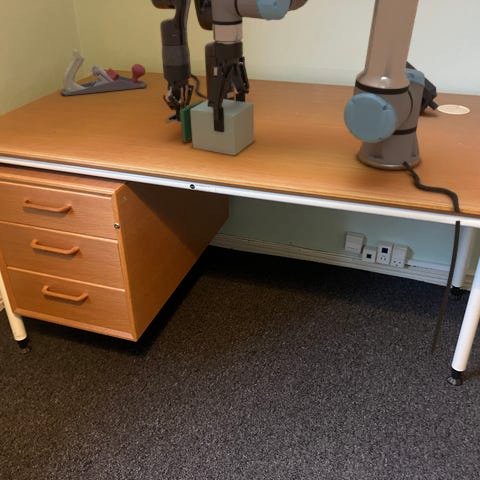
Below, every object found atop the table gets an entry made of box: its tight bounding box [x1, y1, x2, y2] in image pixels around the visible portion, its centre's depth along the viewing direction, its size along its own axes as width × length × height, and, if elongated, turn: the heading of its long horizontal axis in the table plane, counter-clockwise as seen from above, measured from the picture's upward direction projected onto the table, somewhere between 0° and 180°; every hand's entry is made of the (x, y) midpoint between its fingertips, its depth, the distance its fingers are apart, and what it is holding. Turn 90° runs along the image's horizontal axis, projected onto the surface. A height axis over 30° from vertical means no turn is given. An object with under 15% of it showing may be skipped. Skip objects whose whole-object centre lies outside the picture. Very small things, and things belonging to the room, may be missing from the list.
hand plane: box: [61, 48, 146, 96], centre depth 194 cm, size 7×31×15 cm, turn 107°
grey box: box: [190, 99, 255, 156], centre depth 147 cm, size 13×12×11 cm
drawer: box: [164, 99, 204, 143], centre depth 150 cm, size 18×10×9 cm, turn 62°
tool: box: [405, 61, 439, 113], centre depth 169 cm, size 6×19×15 cm, turn 51°
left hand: (181, 122), depth 153 cm, fingers closed
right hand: (230, 123), depth 146 cm, fingers closed on grey box, 12 cm apart
